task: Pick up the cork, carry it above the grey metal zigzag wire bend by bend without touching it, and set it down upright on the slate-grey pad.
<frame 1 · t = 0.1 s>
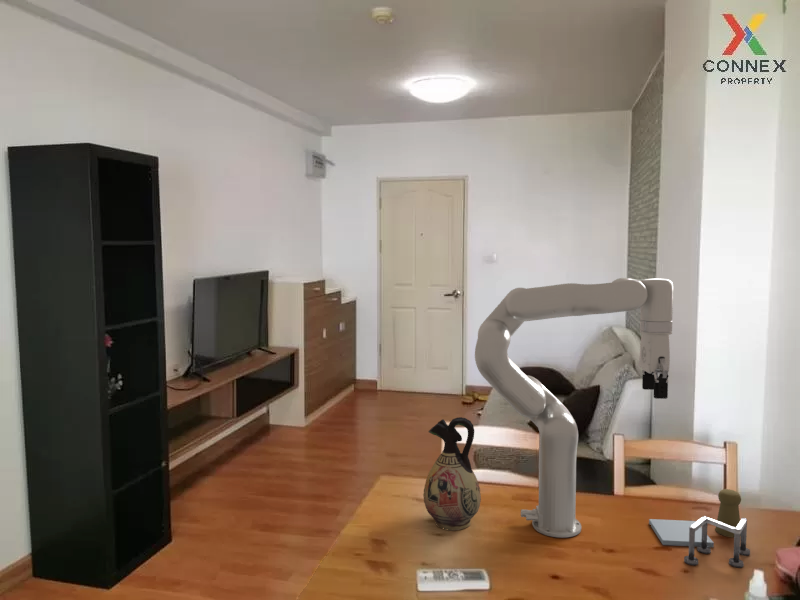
hand: (654, 393, 154), 37 cm above the table, tool pointing down, fingers open, 9 cm apart
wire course: (717, 557, 144), on the table
cork: (728, 532, 157), on the table
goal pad: (679, 534, 155), on the table
ceramic jug: (454, 525, 162), on the table
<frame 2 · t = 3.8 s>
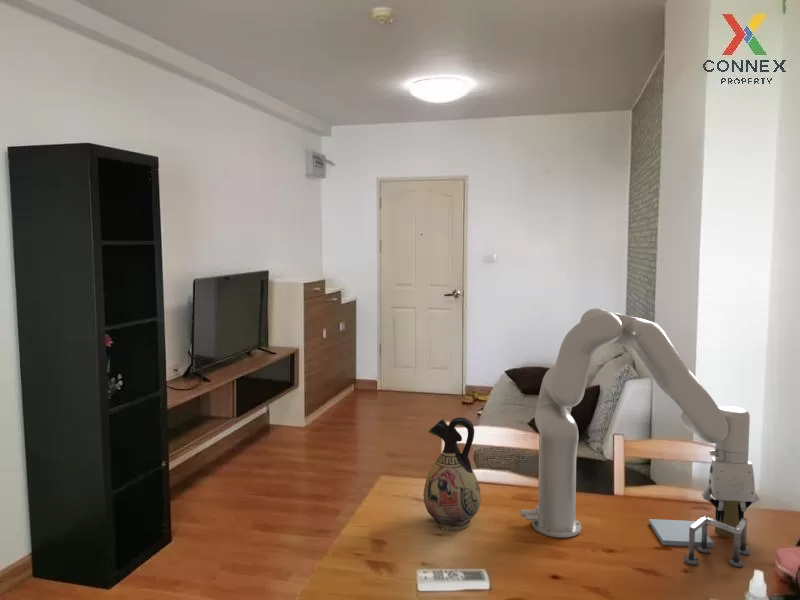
hand: (729, 523, 157), 2 cm above the table, tool pointing down, fingers closed on cork, 3 cm apart
cork: (727, 532, 157), on the table, touching gripper
everything else where it was.
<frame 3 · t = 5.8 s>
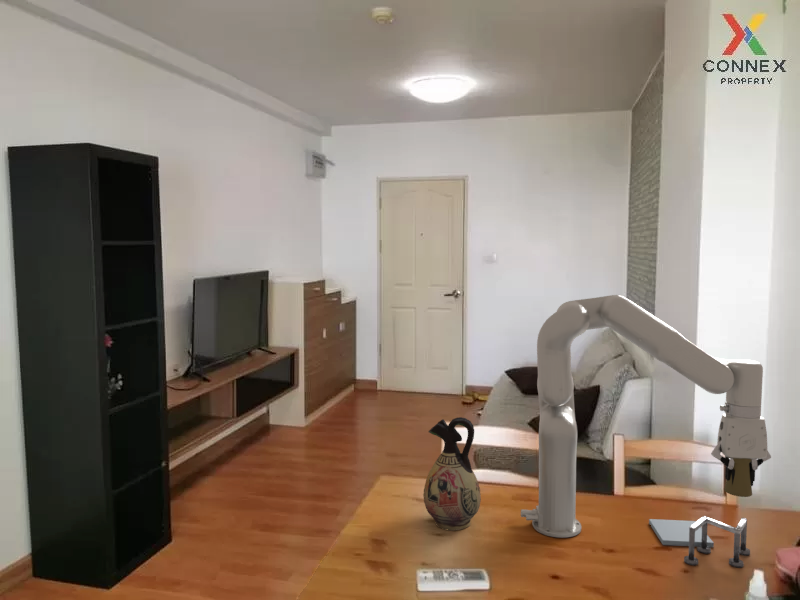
hand: (739, 482, 148), 16 cm above the table, tool pointing down, fingers closed on cork, 3 cm apart
cork: (738, 492, 149), point 13 cm above the table, touching gripper
everything else where it was.
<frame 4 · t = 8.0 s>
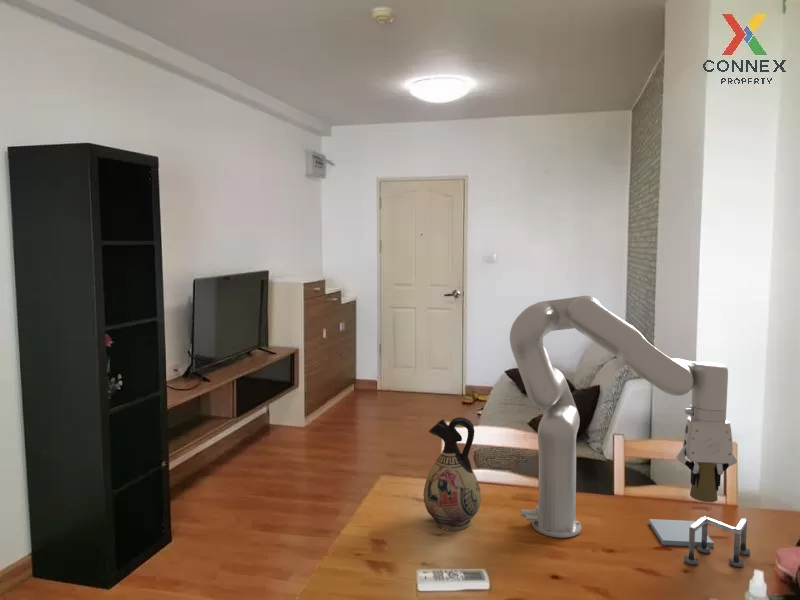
hand: (705, 487, 146), 16 cm above the table, tool pointing down, fingers closed on cork, 3 cm apart
cork: (703, 497, 146), point 13 cm above the table, touching gripper
everything else where it was.
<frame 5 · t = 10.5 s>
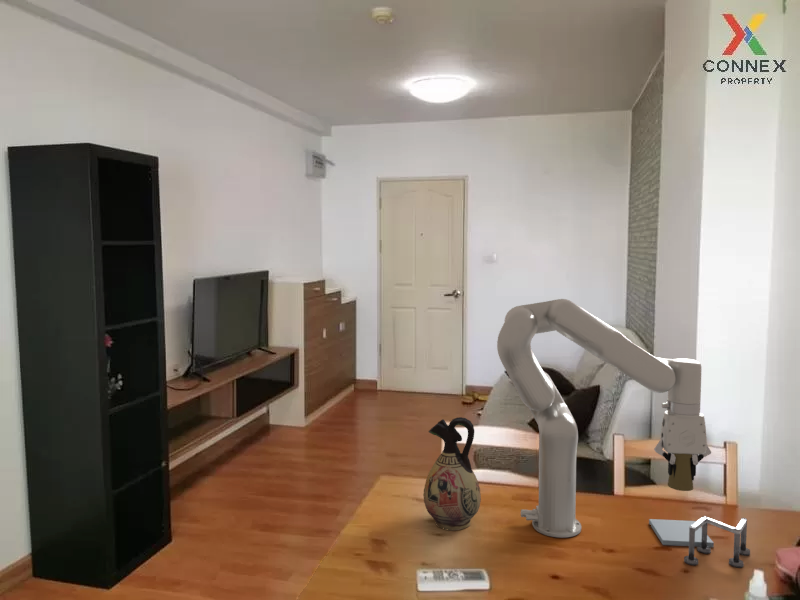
hand: (681, 477, 154), 15 cm above the table, tool pointing down, fingers closed on cork, 3 cm apart
cork: (680, 487, 154), point 13 cm above the table, touching gripper
everything else where it was.
when the fingers open (5 cm above the table, at t = 12.6 s): cork drops 1 cm, resting on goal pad.
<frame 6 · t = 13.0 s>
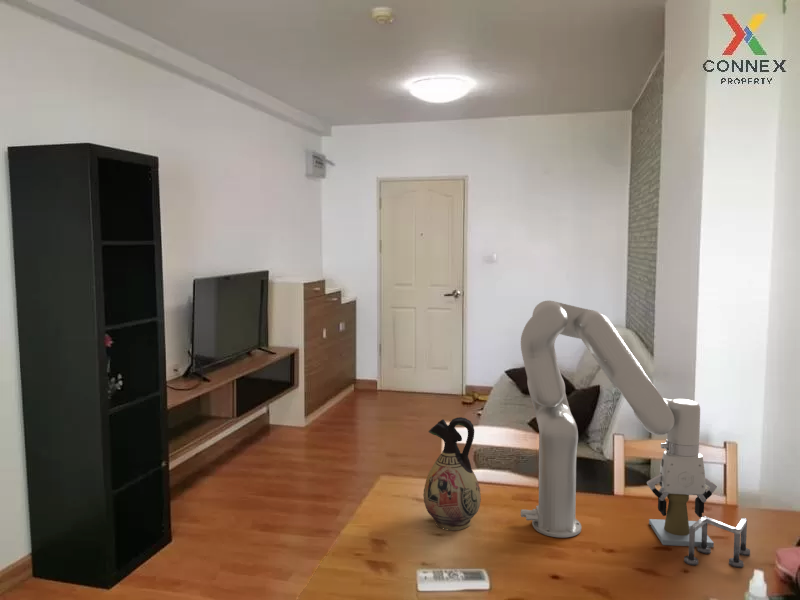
hand: (680, 514, 155), 6 cm above the table, tool pointing down, fingers open, 8 cm apart
cork: (676, 530, 155), point 1 cm above the table, touching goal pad
everything else where it was.
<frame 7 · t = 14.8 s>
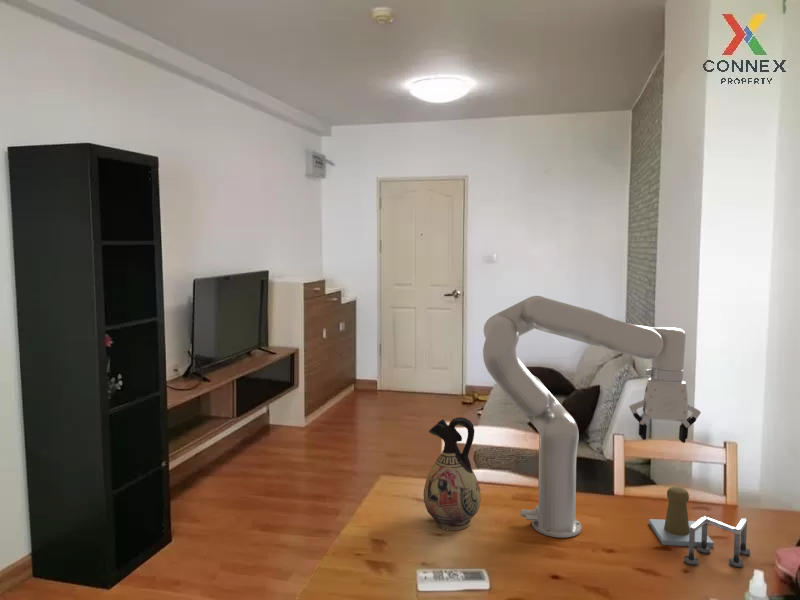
hand: (662, 439, 157), 24 cm above the table, tool pointing down, fingers open, 9 cm apart
nothing on the table moved.
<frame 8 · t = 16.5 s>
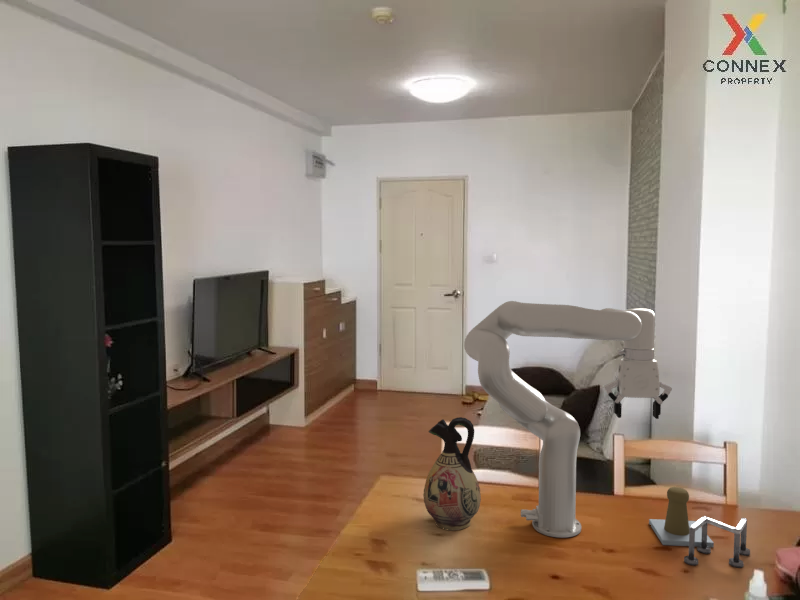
hand: (636, 417, 163), 28 cm above the table, tool pointing down, fingers open, 9 cm apart
nothing on the table moved.
at the end: cork inside the target area on the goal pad (0.8 cm from its centre), point 1.0 cm above the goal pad's base; cork tilted 0°; cork touching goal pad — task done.
